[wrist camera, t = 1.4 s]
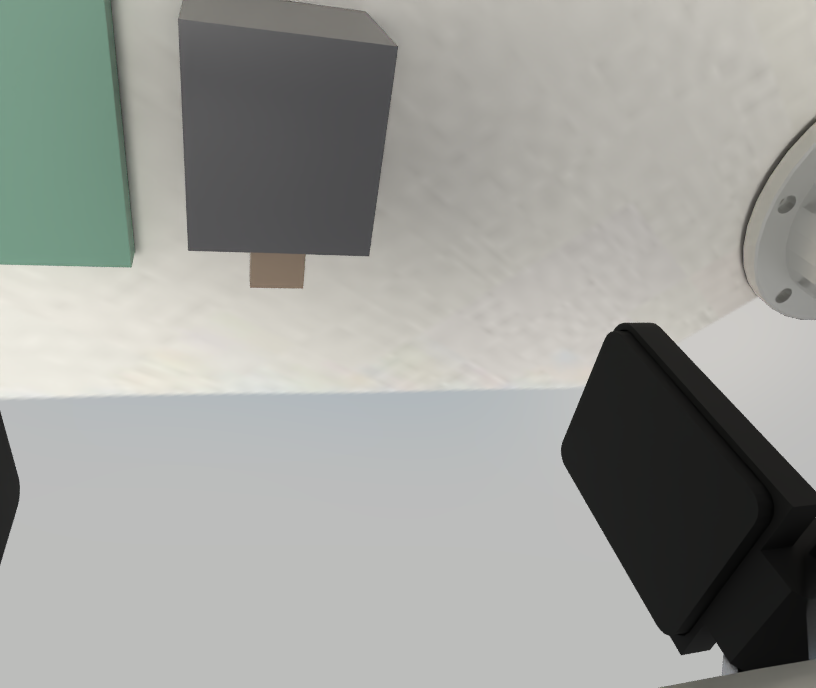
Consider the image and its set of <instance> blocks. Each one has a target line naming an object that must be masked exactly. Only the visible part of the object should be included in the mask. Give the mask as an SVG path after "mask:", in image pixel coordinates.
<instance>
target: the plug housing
mask: <svg viewBox="0 0 816 688" xmlns="http://www.w3.org/2000/svg"><path fill="white" fill-rule="evenodd" d="M178 25H179V48H180V71H181V94H182V117H183V140H184V164H185V187H186V210H187V233H188V251H217V252H250V288H303V281H304V268H305V255H306V254H315V255H348V256H369V253H370V245H371V238H372V231H373V224H374V217H375V209H376V202H377V195H378V188H379V180H380V173H381V166H382V159H383V152H384V144H385V137H386V130H387V123H388V115H389V108H390V101H391V94H392V86H393V79H394V72H395V65H396V58H397V50H398V46H397V45H396V44H395V43H394V42H393V41H392V39H391V38H390V37H389V36H388V35H387V34H386V33H385V32H384V31H383V30H382V29H381V28H380V27H379V26H378V25H377V24H376V22H375V21H374V20H373V19H372V18H371V17H370V16H369V15H368V14H367V13H366V12H364V11H357V10H350V9H342V8H335V7H328V6H321V5H314V4H306V3H299V2H292V1H285V0H183V2H182V6H181V10H180V14H179V18H178Z"/></svg>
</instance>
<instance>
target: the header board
mask: <svg viewBox="0 0 816 688" xmlns="http://www.w3.org/2000/svg"><path fill="white" fill-rule="evenodd" d="M134 253H135V249H134V239H133V228H132V218H131V208H130V197H129V187H128V177H127V166H126V156H125V146H124V135H123V125H122V115H121V104H120V94H119V84H118V73H117V63H116V53H115V42H114V32H113V22H112V12H111V1H110V0H0V264H5V265H48V266H92V267H132V262H133V258H134Z"/></svg>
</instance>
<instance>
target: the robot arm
mask: <svg viewBox="0 0 816 688" xmlns="http://www.w3.org/2000/svg"><path fill="white" fill-rule="evenodd" d="M743 255H744V269H745V273H746V276H747V280H748V283H749V284H750V286H751V288H752V289H753V291H754V292H755V294H756V295H757V296H758V297H759V298H760V299H762V300H763V301H764V302H765V303H766V304H767V305H769V306H770V307H771V308H772V309H774V310H776V311H778V312H779V313H781V314H783V315H784V316H788V317H792V318H796V319H800V320H816V123H814V124H813V125H812V126H811V127H810V128H809V129H808V130H807V131H806V132H805V133H804V134H803V135H802V136H801V138H800V139H799V140H798V141H797V142H796V143H795V144H794V145H793V146H792V147H791V149H790V150H789V151H788V152H787V153H786V155H785V156H784V157H783V159H782V160H781V162H780V163H779V164H778V166H777V167H776V169H775V170H774V171H773V173H772V174H771V176H770V177H769V179H768V181H767V183H766V185H765V186H764V188H763V190H762V192H761V194H760V196H759V197H758V199H757V201H756V204H755V207H754V209H753V212H752V215H751V217H750V220H749V223H748V226H747V231H746V236H745V241H744V246H743ZM561 455H562V460H563V463H564V465H565V467H566V469H567V470H568V472H569V474H570V475H571V477H572V479H573V481H574V482H575V484H576V486H577V487H578V489H579V491H580V493H581V495H582V496H583V498H584V500H585V502H586V503H587V505H588V507H589V508H590V510H591V512H592V514H593V515H594V517H595V519H596V521H597V522H598V524H599V526H600V528H601V529H602V531H603V532H604V534H605V536H606V538H607V540H608V541H609V543H610V545H611V546H612V548H613V550H614V552H615V553H616V555H617V557H618V559H619V560H620V562H621V564H622V566H623V567H624V569H625V571H626V573H627V574H628V576H629V578H630V580H631V581H632V583H633V585H634V586H635V588H636V590H637V592H638V593H639V595H640V597H641V599H642V600H643V602H644V604H645V605H646V607H647V609H648V611H649V612H650V614H651V616H652V618H653V619H654V621H655V623H656V625H657V626H658V627H659V629H660V630H661V631H662V632H663V633H664V634H666V635H669V636H670V637H671V639H672V640H673V642H674V644H675V646H676V647H677V649H678V651H679V652H680V654H681V655H685V654H690V653H696V652H701V651H707V650H710V649H711V648H712V647H713V645H714V644H715V643H716V642H717V644H718V646H719V647H720V649H721V650H722V652H723V653H724V655H723V667H722V676H719V677H713V678H708V679H703V680H697V681H692V682H687V683H681V684H676V685H671V686H666V687H660V688H816V491H815V490H814V489H813V488H812V487H811V486H810V485H809V484H808V483H807V482H806V481H805V480H804V479H803V478H802V477H801V475H800V474H799V473H798V472H797V471H796V470H795V469H794V468H793V467H792V466H791V465H790V464H789V463H788V462H787V461H786V460H785V458H784V457H783V456H782V455H781V454H780V453H779V452H778V451H777V450H776V449H775V448H774V447H773V446H772V445H771V444H770V443H769V442H768V441H767V440H766V438H765V437H763V435H762V434H761V433H760V432H759V431H758V430H757V429H756V428H755V427H754V426H753V425H752V424H751V423H750V422H749V420H747V418H746V417H745V416H744V415H743V414H742V413H741V412H740V411H739V410H738V409H737V408H736V407H735V406H734V405H733V404H732V403H731V401H730V400H729V399H728V398H727V397H726V396H725V395H724V394H723V393H722V392H721V391H720V390H719V389H718V388H717V387H716V386H715V385H714V384H713V383H712V382H711V380H710V379H709V378H708V377H707V376H706V375H705V374H704V373H703V372H702V371H701V370H700V369H699V368H698V367H697V366H696V365H695V364H694V363H693V361H692V360H690V358H689V357H688V356H687V355H686V354H685V353H684V352H683V351H682V350H681V349H680V348H679V347H678V346H677V345H676V343H675V342H674V341H673V340H672V339H671V338H670V337H669V336H668V335H667V334H666V333H665V332H664V331H663V330H662V329H661V328H660V327H659V326H658V325H656V324H654V323H622V324H619V325H618V326H617V327H616V328H615V329H614V331H613V332H610V333H609V334H608V335H607V336H606V338H605V340H604V342H603V345H602V347H601V350H600V352H599V354H598V357H597V359H596V362H595V364H594V367H593V369H592V372H591V374H590V376H589V379H588V381H587V384H586V386H585V389H584V391H583V394H582V396H581V398H580V401H579V403H578V406H577V408H576V411H575V413H574V415H573V418H572V420H571V423H570V425H569V428H568V430H567V433H566V435H565V437H564V440H563V442H562V447H561ZM19 494H20V485H19V478H18V474H17V470H16V467H15V463H14V460H13V456H12V452H11V448H10V445H9V441H8V438H7V434H6V431H5V427H4V423H3V420H2V416H1V412H0V564H1V560H2V557H3V553H4V550H5V547H6V543H7V540H8V536H9V533H10V530H11V527H12V523H13V520H14V517H15V513H16V510H17V507H18V502H19Z"/></svg>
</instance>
